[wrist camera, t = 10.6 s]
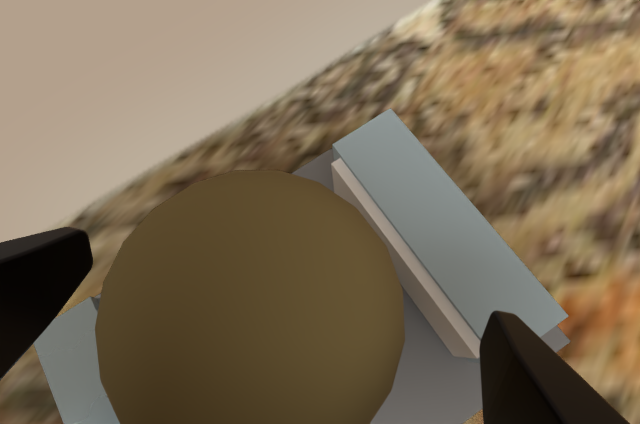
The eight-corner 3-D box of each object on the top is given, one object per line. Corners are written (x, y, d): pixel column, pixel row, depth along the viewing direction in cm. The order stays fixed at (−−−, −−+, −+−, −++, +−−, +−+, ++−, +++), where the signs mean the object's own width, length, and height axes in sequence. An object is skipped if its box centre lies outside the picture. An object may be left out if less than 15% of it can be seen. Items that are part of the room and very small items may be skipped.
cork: (227, 267, 17) (36, 144, 7) (369, 246, 17) (402, 86, 6) (237, 425, 15) (-12, 606, 5) (397, 403, 15) (511, 537, 4)
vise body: (380, 125, 20) (387, 67, 15) (559, 341, 16) (632, 340, 12) (-111, 436, 17) (-261, 464, 13) (-29, 786, 13) (-202, 987, 9)
